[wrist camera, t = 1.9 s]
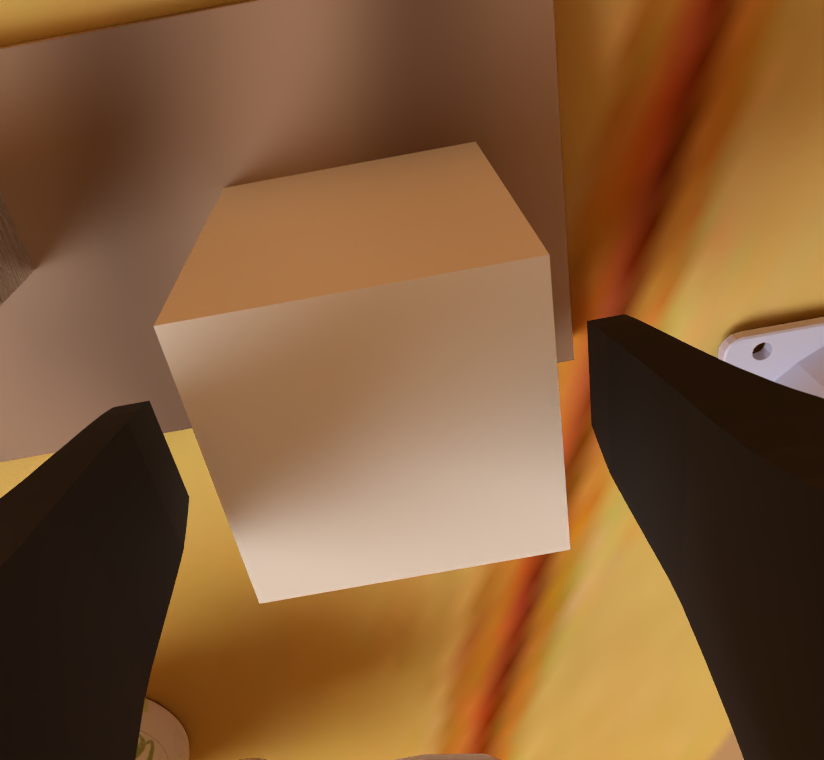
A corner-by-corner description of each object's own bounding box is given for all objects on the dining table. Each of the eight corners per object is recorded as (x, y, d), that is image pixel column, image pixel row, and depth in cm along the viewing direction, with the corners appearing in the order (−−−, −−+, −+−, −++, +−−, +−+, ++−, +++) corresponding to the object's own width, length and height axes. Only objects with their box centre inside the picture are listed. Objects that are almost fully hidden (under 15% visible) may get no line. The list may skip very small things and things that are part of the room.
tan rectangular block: (475, 141, 16) (549, 254, 10) (501, 362, 18) (570, 549, 13) (223, 188, 16) (152, 326, 10) (286, 400, 18) (259, 603, 13)
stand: (538, -54, 15) (550, -55, 14) (563, 341, 19) (573, 359, 18) (-340, 110, 15) (-382, 121, 14) (-110, 461, 20) (-131, 485, 19)
